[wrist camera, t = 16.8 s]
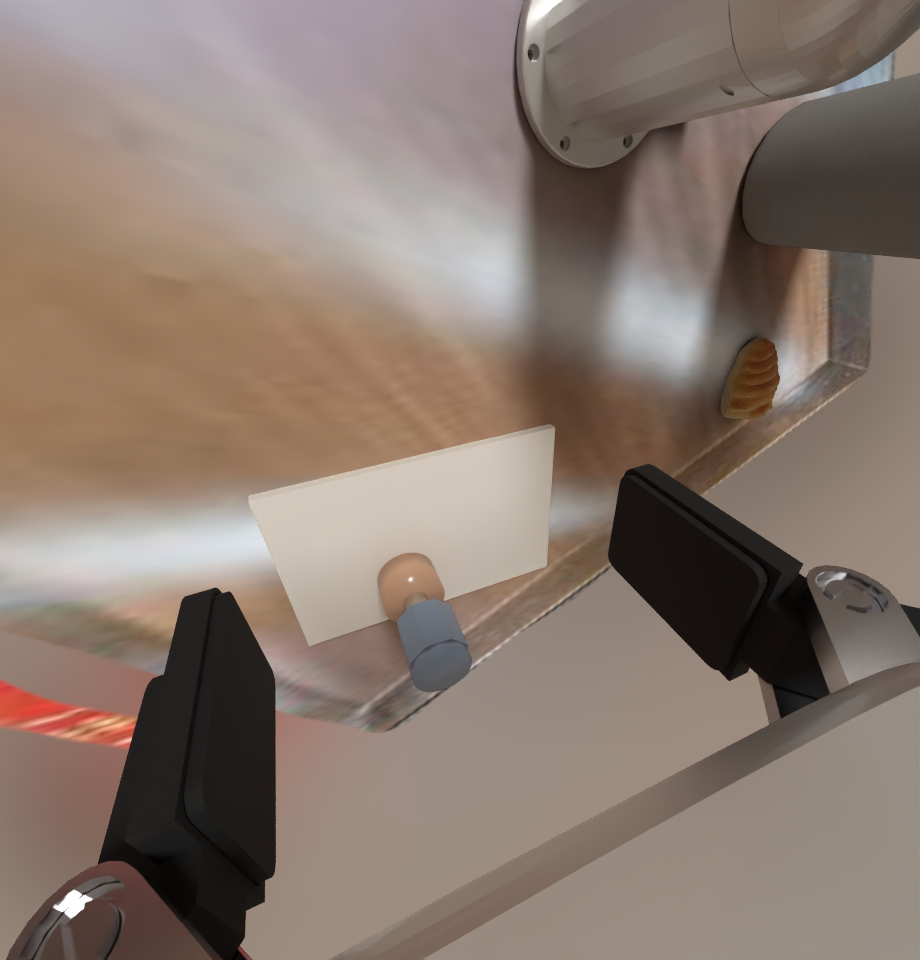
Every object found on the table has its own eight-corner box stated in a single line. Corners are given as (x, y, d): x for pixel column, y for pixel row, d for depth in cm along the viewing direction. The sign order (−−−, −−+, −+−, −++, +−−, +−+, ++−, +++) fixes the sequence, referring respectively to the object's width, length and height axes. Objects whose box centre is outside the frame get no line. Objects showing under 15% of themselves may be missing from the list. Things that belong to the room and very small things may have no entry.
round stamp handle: (430, 545, 46) (467, 622, 37) (436, 586, 50) (470, 665, 41) (372, 563, 44) (396, 648, 36) (382, 604, 48) (406, 690, 39)
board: (550, 423, 45) (555, 427, 44) (542, 561, 56) (546, 566, 55) (248, 495, 37) (248, 501, 36) (308, 639, 48) (309, 646, 47)
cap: (395, 609, 41) (411, 662, 36) (449, 593, 42) (471, 641, 37) (400, 646, 43) (415, 699, 39) (450, 630, 45) (472, 679, 40)
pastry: (725, 346, 49) (756, 355, 46) (771, 327, 50) (804, 335, 47) (714, 417, 54) (741, 429, 51) (756, 399, 55) (784, 410, 52)
